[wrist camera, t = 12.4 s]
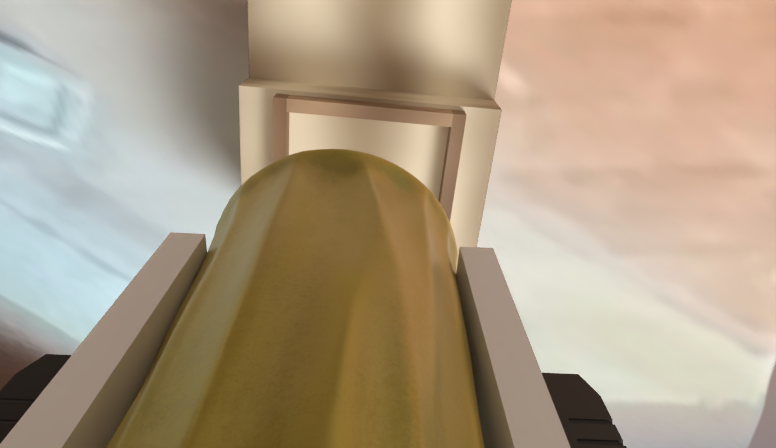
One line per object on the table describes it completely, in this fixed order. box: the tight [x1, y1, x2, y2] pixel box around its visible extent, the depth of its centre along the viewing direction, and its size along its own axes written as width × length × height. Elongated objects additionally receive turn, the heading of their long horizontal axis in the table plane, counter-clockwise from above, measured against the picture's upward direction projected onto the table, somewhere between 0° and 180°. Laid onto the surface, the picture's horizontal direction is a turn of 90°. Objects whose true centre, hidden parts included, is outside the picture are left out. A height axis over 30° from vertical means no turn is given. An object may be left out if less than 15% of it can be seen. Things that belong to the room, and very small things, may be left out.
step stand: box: [239, 0, 512, 271], centre depth 26 cm, size 12×21×7 cm, turn 175°
